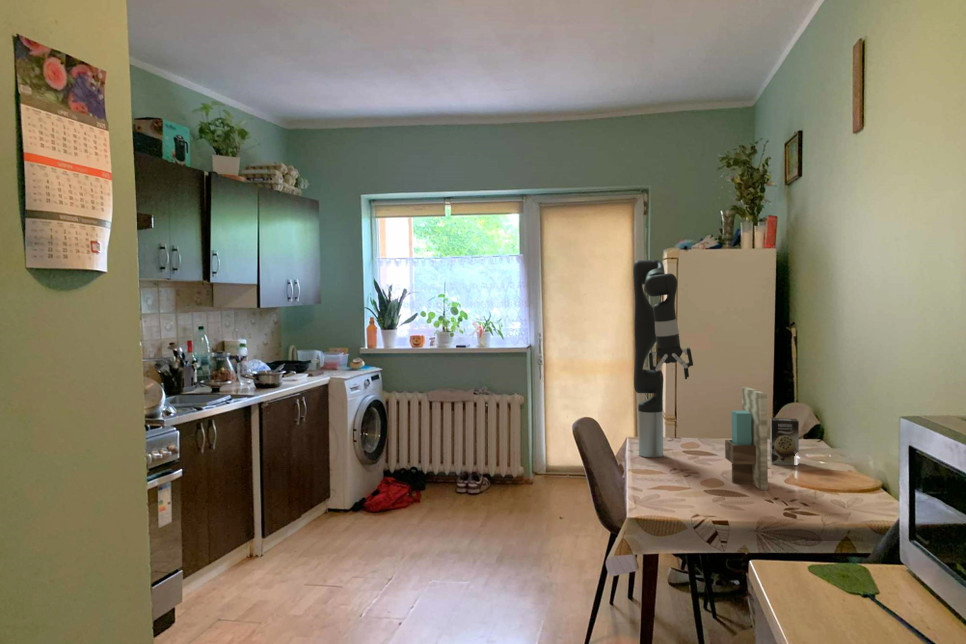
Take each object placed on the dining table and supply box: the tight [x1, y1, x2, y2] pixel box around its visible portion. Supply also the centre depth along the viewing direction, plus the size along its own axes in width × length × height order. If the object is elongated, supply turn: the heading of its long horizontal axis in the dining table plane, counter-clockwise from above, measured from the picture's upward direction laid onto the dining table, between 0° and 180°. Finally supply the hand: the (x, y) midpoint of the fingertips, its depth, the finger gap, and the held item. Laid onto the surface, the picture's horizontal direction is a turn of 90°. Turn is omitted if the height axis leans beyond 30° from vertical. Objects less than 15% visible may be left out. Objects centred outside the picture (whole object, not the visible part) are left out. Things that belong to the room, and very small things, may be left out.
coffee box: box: [769, 417, 800, 467], centre depth 242 cm, size 9×6×16 cm
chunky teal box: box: [731, 410, 751, 445], centre depth 217 cm, size 6×4×15 cm
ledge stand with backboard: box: [724, 386, 769, 491], centre depth 217 cm, size 18×9×30 cm, turn 176°
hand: (673, 380), depth 227 cm, fingers open, 8 cm apart
